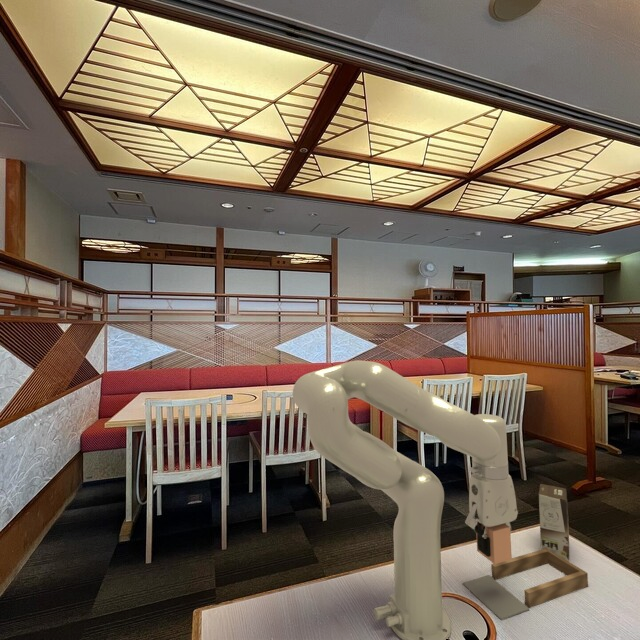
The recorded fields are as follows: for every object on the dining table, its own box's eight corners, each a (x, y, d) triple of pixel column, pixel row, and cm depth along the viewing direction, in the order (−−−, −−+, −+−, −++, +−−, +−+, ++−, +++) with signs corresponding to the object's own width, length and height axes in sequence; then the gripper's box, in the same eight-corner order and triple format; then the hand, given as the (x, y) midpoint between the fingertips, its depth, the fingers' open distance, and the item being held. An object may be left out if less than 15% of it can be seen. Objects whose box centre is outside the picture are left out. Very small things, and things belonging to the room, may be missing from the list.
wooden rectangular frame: (529, 607, 72) (528, 593, 72) (491, 576, 81) (491, 564, 82) (588, 586, 78) (587, 573, 78) (547, 560, 88) (546, 548, 88)
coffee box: (570, 564, 86) (566, 500, 87) (540, 554, 90) (537, 493, 91) (570, 547, 93) (567, 488, 94) (542, 538, 97) (540, 482, 98)
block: (494, 564, 73) (493, 531, 73) (477, 550, 78) (475, 520, 78) (511, 559, 74) (510, 527, 75) (493, 546, 79) (492, 516, 80)
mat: (501, 620, 69) (501, 618, 69) (462, 583, 79) (462, 582, 79) (529, 610, 71) (529, 608, 71) (488, 576, 82) (488, 574, 82)
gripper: (473, 481, 71) (477, 569, 70) (531, 469, 76) (536, 551, 75) (449, 468, 78) (452, 548, 77) (504, 459, 83) (507, 533, 82)
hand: (493, 549), depth 76 cm, fingers closed on block, 5 cm apart
